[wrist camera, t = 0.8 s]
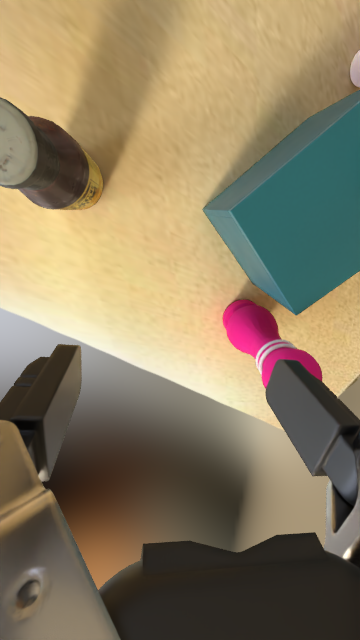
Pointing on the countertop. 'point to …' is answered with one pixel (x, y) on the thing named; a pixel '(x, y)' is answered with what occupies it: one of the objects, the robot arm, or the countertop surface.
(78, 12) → the countertop surface
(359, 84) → the smoothie
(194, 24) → the countertop surface
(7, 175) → the sauce bottle
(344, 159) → the lid
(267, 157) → the cool box
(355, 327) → the countertop surface
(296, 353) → the pepper mill
